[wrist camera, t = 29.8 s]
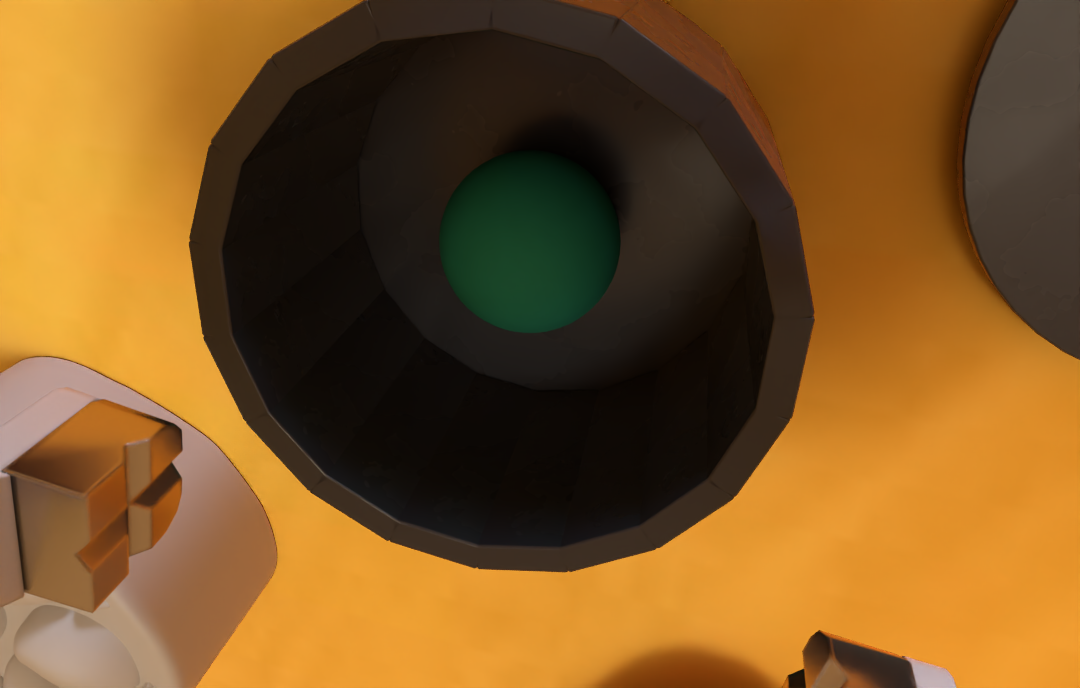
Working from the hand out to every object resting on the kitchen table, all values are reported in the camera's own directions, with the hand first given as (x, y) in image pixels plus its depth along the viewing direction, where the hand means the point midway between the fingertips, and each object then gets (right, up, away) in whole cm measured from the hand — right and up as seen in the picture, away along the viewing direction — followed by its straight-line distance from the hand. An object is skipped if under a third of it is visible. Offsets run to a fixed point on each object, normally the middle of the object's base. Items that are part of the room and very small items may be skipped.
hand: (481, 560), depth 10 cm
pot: (+1, +7, +15) cm, 17 cm away
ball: (+1, +7, +15) cm, 16 cm away
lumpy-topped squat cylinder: (-16, -4, +24) cm, 29 cm away
